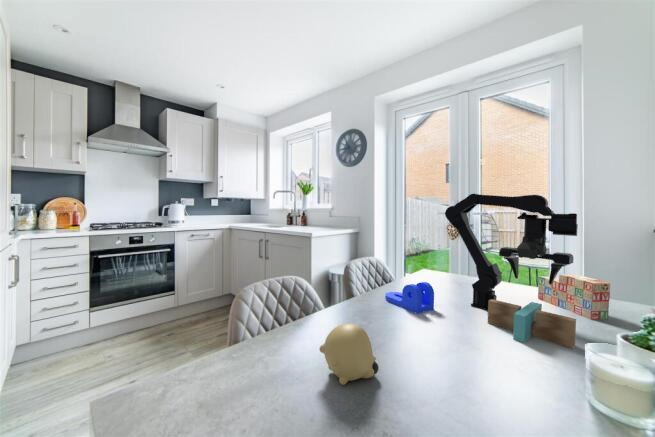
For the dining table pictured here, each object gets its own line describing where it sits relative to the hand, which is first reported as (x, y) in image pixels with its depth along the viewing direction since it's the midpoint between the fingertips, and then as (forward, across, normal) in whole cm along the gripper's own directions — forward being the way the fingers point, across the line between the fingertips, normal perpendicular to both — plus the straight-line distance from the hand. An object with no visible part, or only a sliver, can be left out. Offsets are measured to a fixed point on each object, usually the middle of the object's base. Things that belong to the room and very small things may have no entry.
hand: (532, 281), depth 91 cm
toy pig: (+12, -12, -70) cm, 72 cm away
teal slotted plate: (+12, +3, -15) cm, 19 cm away
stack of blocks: (+12, +5, +22) cm, 26 cm away
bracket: (+12, -33, -23) cm, 42 cm away
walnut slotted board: (+12, +3, -15) cm, 20 cm away
